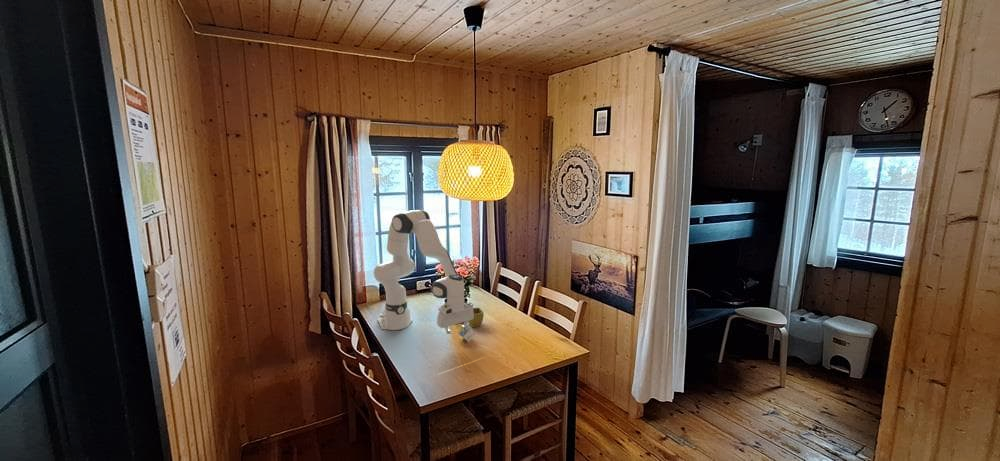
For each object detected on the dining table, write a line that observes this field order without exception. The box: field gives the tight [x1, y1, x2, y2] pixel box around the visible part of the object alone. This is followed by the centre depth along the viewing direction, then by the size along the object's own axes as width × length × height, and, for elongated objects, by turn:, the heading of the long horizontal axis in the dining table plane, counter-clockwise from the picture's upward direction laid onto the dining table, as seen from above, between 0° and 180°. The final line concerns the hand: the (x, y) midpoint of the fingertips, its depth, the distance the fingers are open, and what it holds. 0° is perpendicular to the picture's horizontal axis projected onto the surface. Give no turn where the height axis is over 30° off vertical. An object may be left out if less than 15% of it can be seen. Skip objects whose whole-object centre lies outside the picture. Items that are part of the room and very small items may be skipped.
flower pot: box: [467, 306, 485, 328], centre depth 228 cm, size 9×9×9 cm
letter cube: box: [457, 325, 476, 343], centre depth 209 cm, size 6×6×6 cm
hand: (456, 331), depth 205 cm, fingers open, 8 cm apart
